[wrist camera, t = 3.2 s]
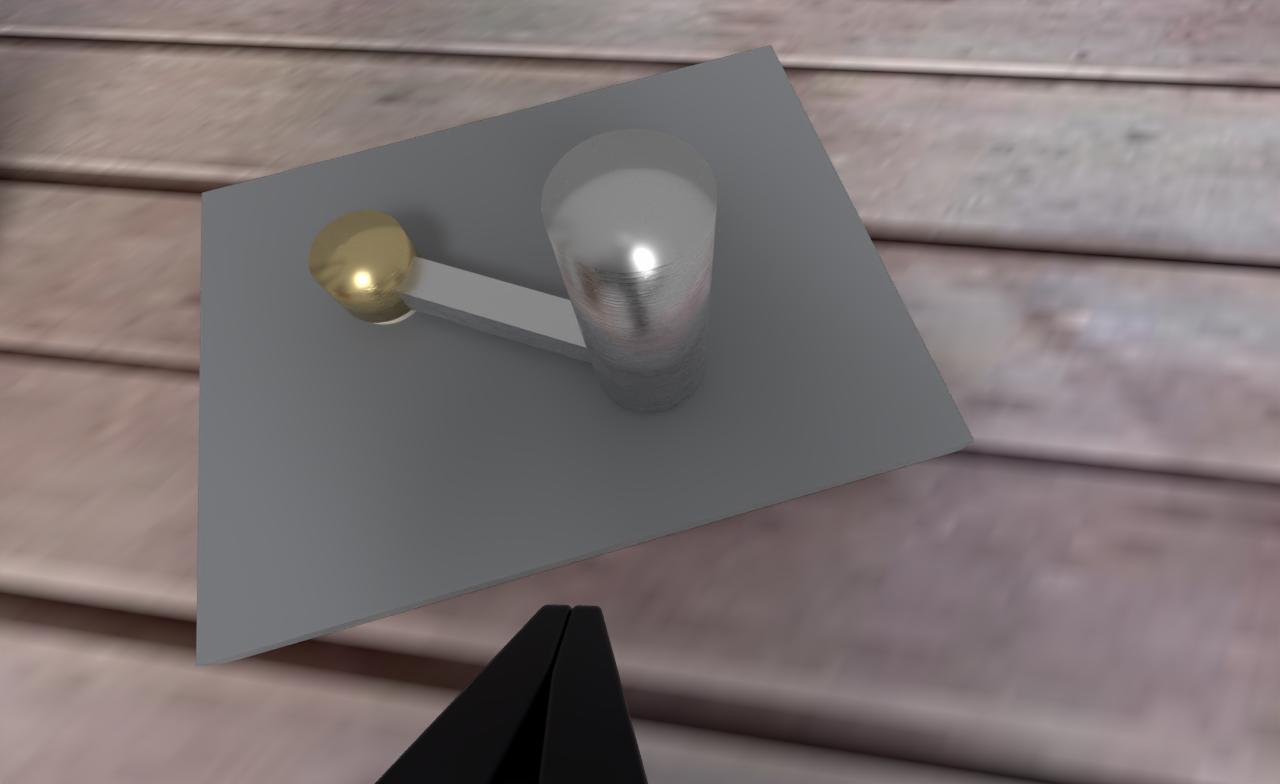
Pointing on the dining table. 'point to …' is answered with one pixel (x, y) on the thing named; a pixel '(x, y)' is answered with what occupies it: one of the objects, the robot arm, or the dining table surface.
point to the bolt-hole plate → (529, 369)
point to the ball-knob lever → (569, 269)
